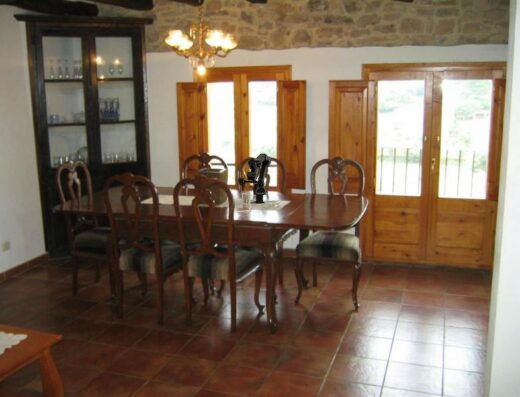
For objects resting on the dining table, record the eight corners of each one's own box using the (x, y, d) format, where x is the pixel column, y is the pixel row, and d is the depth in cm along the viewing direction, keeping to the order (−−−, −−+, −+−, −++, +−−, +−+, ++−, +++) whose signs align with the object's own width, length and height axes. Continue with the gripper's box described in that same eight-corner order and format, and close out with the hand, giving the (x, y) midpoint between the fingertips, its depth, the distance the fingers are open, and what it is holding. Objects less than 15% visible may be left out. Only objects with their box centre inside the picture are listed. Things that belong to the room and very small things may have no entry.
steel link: (242, 208, 396) (242, 192, 393) (250, 209, 394) (250, 192, 392) (241, 209, 394) (241, 192, 392) (249, 209, 392) (249, 193, 390)
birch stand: (239, 210, 397) (239, 192, 395) (253, 211, 394) (253, 193, 392) (235, 213, 387) (234, 195, 385) (248, 214, 384) (248, 196, 382)
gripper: (238, 166, 403) (233, 184, 394) (263, 167, 398) (259, 185, 389) (242, 176, 412) (237, 193, 403) (266, 177, 407) (262, 194, 398)
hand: (248, 191), depth 398 cm, fingers open, 9 cm apart
